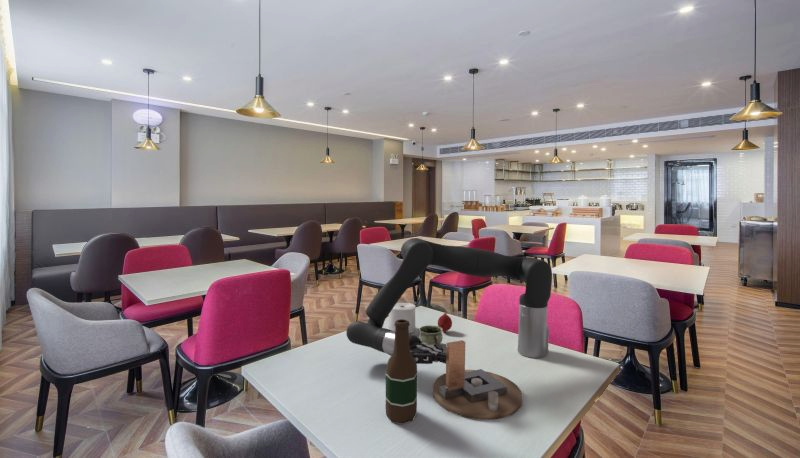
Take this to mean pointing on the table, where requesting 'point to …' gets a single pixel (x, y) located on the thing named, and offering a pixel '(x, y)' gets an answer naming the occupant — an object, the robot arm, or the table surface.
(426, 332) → the vessel
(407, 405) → the beer bottle
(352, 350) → the table surface
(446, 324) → the red oval fruit
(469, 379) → the handled square nut
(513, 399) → the post base
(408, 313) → the toilet tissue
